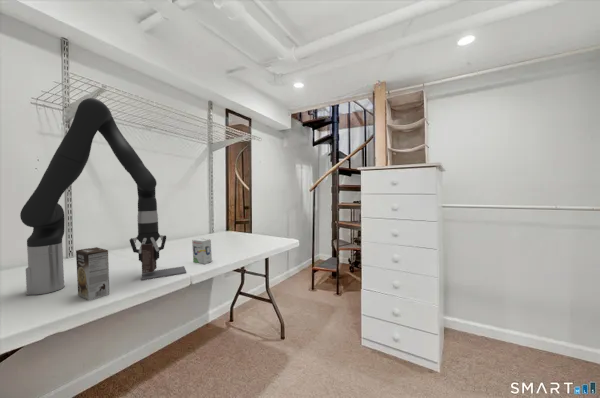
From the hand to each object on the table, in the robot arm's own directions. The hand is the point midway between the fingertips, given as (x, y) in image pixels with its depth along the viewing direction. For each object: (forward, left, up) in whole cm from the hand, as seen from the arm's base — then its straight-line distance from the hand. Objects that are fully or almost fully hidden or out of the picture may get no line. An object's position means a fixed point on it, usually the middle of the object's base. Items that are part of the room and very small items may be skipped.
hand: (149, 260), depth 109 cm
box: (0, 0, -5) cm, 5 cm away
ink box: (+23, +10, -7) cm, 26 cm away
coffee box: (-17, -13, -7) cm, 22 cm away
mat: (+5, 0, -7) cm, 9 cm away
